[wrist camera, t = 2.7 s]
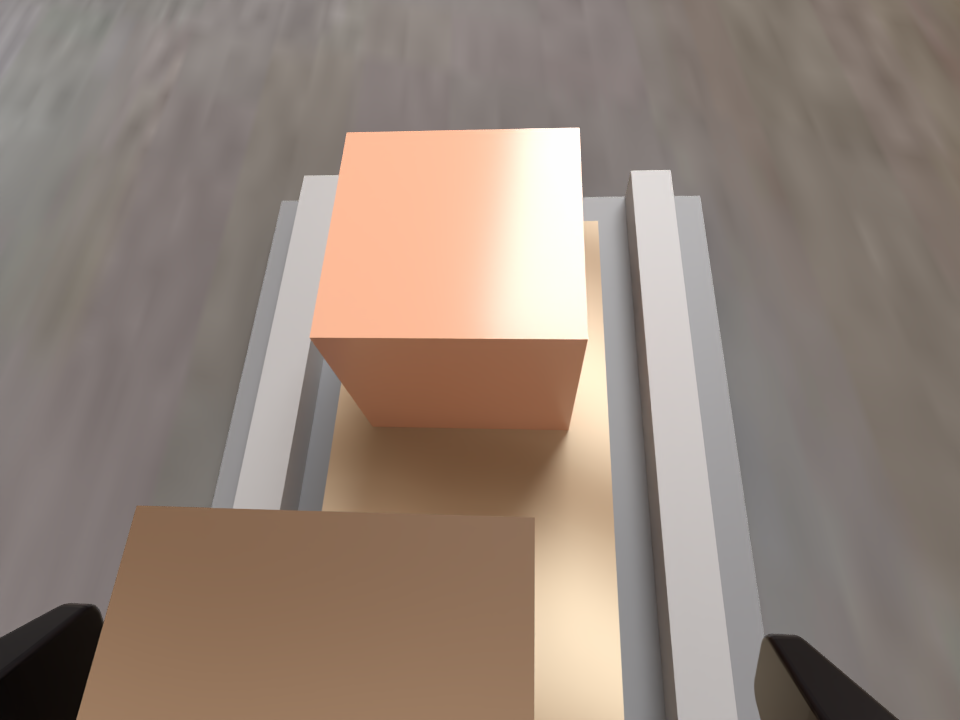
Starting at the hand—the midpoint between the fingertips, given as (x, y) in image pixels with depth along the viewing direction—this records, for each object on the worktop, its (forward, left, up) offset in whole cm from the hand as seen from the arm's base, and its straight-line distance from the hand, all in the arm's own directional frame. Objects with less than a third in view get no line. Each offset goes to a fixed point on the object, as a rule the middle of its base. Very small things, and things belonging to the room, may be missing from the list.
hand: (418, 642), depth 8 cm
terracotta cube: (+4, +6, -6) cm, 9 cm away
